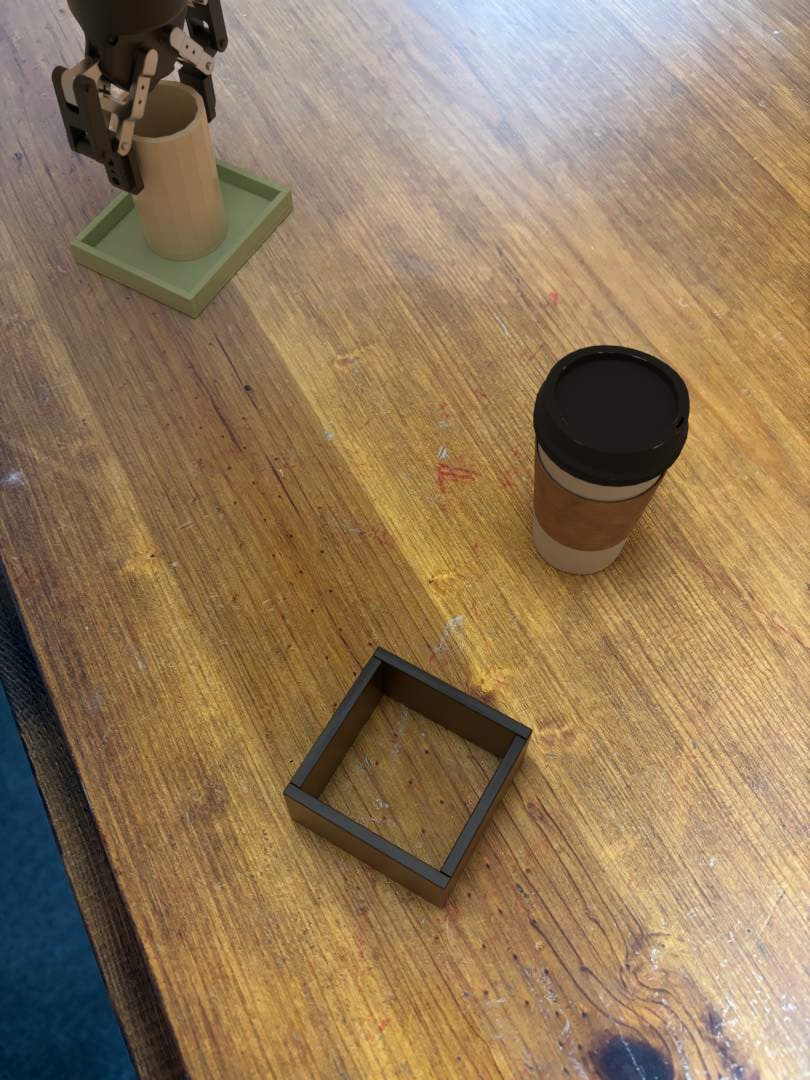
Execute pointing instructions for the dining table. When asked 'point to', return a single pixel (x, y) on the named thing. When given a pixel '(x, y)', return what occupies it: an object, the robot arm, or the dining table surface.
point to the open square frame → (438, 705)
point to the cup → (177, 174)
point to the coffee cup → (602, 451)
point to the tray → (192, 283)
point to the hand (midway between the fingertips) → (166, 152)
